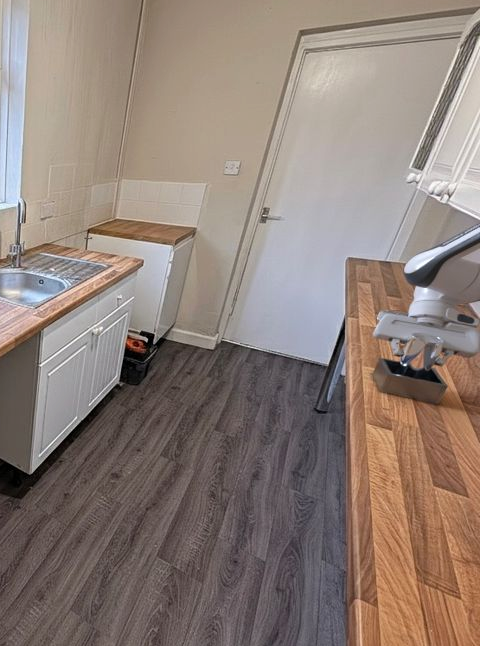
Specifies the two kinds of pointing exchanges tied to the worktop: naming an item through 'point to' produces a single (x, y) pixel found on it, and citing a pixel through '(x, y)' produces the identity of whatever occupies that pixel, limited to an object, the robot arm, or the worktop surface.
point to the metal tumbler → (419, 356)
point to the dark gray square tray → (409, 383)
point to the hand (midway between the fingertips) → (417, 360)
